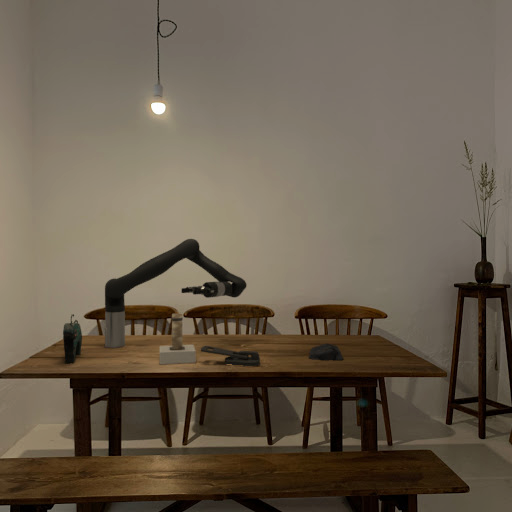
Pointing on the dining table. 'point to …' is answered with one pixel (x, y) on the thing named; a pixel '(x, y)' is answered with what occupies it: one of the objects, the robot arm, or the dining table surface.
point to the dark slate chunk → (325, 353)
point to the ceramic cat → (72, 340)
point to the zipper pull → (235, 356)
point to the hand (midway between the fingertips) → (187, 291)
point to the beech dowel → (177, 331)
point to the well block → (177, 355)
